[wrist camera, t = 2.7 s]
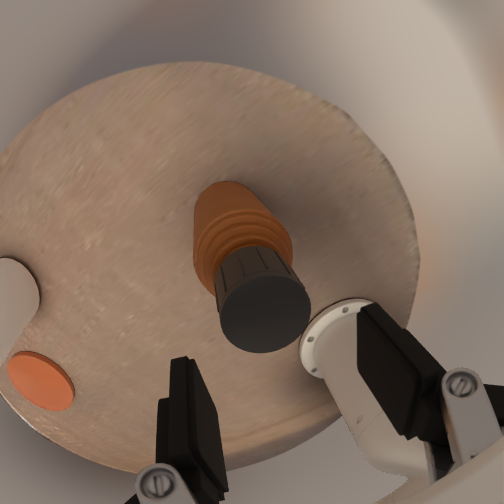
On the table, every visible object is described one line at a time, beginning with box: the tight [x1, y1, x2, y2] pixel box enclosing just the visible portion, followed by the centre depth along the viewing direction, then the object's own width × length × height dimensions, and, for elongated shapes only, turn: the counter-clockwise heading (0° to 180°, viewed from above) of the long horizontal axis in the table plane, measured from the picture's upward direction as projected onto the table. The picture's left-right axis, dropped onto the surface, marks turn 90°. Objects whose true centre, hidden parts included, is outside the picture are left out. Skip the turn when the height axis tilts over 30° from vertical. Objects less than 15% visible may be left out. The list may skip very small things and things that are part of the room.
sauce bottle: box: [193, 181, 293, 297], centre depth 23 cm, size 6×6×18 cm
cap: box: [214, 246, 311, 353], centre depth 15 cm, size 4×4×4 cm
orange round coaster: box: [8, 351, 75, 411], centre depth 34 cm, size 11×11×1 cm
